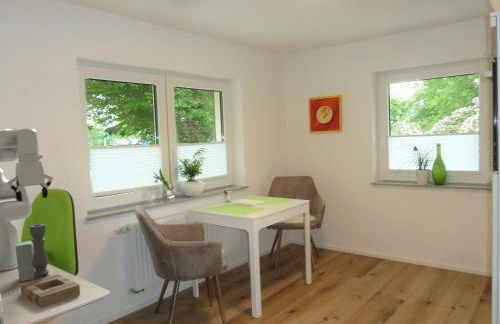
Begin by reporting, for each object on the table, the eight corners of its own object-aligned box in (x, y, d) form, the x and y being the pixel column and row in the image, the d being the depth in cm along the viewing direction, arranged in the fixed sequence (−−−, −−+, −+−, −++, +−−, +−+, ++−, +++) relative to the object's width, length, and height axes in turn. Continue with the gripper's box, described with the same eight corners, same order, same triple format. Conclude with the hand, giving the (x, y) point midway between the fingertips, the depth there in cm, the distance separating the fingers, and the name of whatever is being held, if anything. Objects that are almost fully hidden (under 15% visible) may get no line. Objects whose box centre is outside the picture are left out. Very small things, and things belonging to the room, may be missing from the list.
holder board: (21, 294, 151) (20, 284, 151) (58, 283, 162) (57, 273, 161) (41, 307, 138) (40, 296, 138) (80, 294, 149) (79, 284, 148)
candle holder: (43, 287, 158) (38, 227, 156) (30, 286, 159) (25, 227, 158) (53, 281, 164) (49, 223, 162) (40, 280, 165) (36, 223, 164)
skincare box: (35, 280, 167) (32, 244, 165) (17, 282, 165) (14, 245, 164) (41, 273, 175) (38, 239, 174) (23, 275, 173) (21, 240, 172)
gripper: (47, 157, 169) (50, 196, 170) (2, 160, 156) (6, 202, 157) (54, 157, 164) (57, 196, 165) (8, 160, 151) (12, 203, 152)
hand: (32, 199), depth 161 cm, fingers open, 9 cm apart
